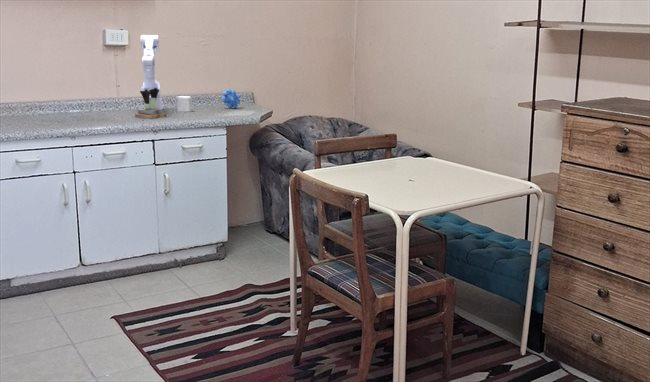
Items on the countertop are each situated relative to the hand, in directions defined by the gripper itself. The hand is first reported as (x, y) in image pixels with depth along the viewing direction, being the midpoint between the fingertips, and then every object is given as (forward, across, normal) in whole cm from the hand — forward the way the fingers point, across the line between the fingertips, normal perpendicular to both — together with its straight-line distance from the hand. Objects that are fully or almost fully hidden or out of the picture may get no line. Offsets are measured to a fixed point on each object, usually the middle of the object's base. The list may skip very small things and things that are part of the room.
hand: (150, 103), depth 399 cm
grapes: (+8, -50, +24) cm, 56 cm away
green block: (+3, 0, 0) cm, 3 cm away
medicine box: (+8, -28, +5) cm, 29 cm away
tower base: (+8, 0, 0) cm, 8 cm away
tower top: (+6, 0, 0) cm, 6 cm away
